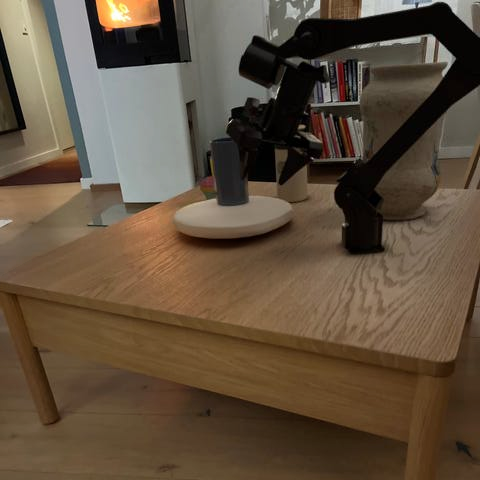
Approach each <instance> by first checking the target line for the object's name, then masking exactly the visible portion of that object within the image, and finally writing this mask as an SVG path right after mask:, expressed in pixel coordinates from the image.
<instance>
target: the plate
mask: <svg viewBox="0 0 480 480" xmlns="http://www.w3.org/2000/svg"><path fill="white" fill-rule="evenodd" d="M293 216H294V210H293V206H292V203H290V202H286V201H284V200H281V199H277V197H270V196H264V195H249V201H248V202H247V203H245V204H241V205H236V206H221V205H218V204H217V201H216V199H211V200H207V199H206V200H201V201H198V202H194V203H190V204H188V205H185V206H183V207H181V208H180V209H178V210H177V211H176V212H174V214H173V217H172V224H173V227H174V228H175V230H177V231H178V232H179V233H182V234H184V235H187V236H191V237H196V238H203V239H239V238H249V237H254V236H259V235H264V234H266V233H269V232H272V231H274V230H276V229H278V228H280V227H282V226H284V225H286V224H287V223H289V222H290V221H291V220H292V218H293Z"/></svg>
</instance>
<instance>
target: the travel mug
mask: <svg viewBox="0 0 480 480" xmlns="http://www.w3.org/2000/svg"><path fill="white" fill-rule="evenodd" d="M305 128H306V125H304V124H300V126H299V128H298V131H301V132H305ZM274 155H275V156H274V157H275V158H274V159H275V176H276V177H275V178H276V179H275V180H276V194H277V195H276V198H277V199H281V200H284V201H286V202H288V203H298V202H302V201H305V200H306V199H307V198H308V164H307V165H306V166H304V167H303V168H302V169H300V170H299V171H298V172H297V173H296V174H294V175H293V176H292V177H291V178H290V179H289V180H288V181H287V182H286V183H284V184H283V185H282V186H280V185H279V184H278V181H279V177H280V174H281V172H282V169H283V166H284V164H285V161H286V159H287V155H288V151H287V146H282V145H276V144H274Z"/></svg>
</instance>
